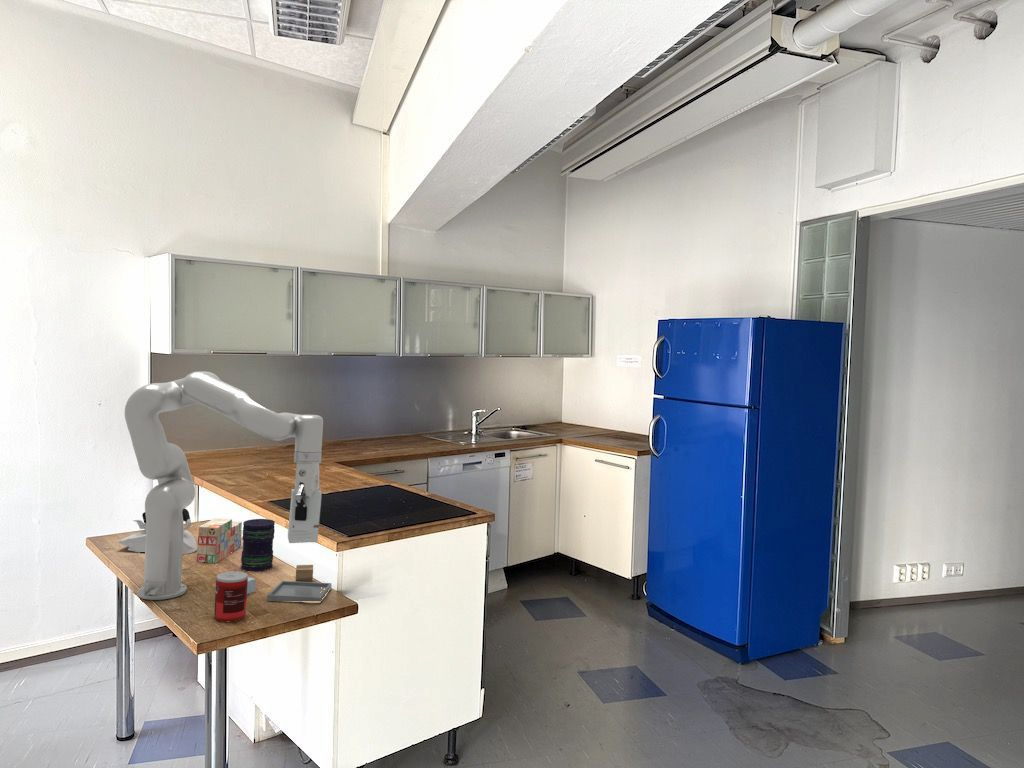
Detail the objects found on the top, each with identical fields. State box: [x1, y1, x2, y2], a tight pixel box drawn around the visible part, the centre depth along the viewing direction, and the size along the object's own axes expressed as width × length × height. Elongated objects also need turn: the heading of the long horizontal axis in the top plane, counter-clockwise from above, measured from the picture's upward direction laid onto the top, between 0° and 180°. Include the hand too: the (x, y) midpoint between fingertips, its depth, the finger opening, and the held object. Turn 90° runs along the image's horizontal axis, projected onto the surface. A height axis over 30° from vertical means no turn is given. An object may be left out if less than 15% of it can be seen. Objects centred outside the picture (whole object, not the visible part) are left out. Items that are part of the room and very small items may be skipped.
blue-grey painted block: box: [247, 576, 257, 595], centre depth 196 cm, size 8×4×4 cm, turn 65°
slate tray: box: [266, 580, 333, 602], centre depth 196 cm, size 13×15×2 cm
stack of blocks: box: [196, 517, 243, 564], centre depth 231 cm, size 21×6×12 cm, turn 0°
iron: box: [118, 508, 198, 555], centre depth 232 cm, size 11×24×15 cm, turn 92°
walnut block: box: [295, 564, 314, 582], centre depth 206 cm, size 5×5×5 cm
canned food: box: [213, 570, 249, 623], centre depth 176 cm, size 8×8×11 cm
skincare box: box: [287, 488, 322, 544], centre depth 195 cm, size 8×6×15 cm
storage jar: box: [240, 518, 276, 573], centre depth 219 cm, size 10×10×15 cm
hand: (304, 516), depth 195 cm, fingers closed on skincare box, 7 cm apart
